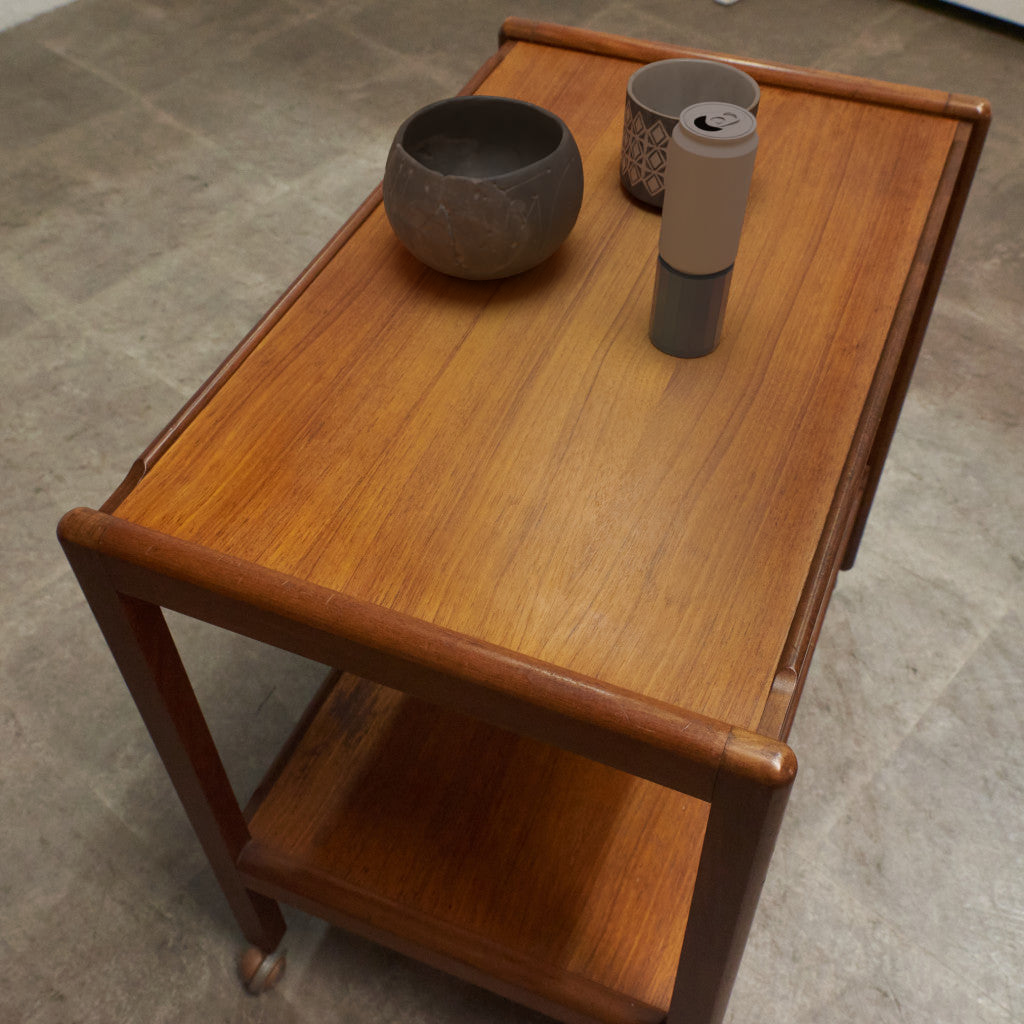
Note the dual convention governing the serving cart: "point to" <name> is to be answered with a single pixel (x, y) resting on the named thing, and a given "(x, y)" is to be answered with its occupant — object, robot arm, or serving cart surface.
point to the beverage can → (707, 187)
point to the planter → (671, 115)
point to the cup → (688, 310)
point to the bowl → (483, 185)
